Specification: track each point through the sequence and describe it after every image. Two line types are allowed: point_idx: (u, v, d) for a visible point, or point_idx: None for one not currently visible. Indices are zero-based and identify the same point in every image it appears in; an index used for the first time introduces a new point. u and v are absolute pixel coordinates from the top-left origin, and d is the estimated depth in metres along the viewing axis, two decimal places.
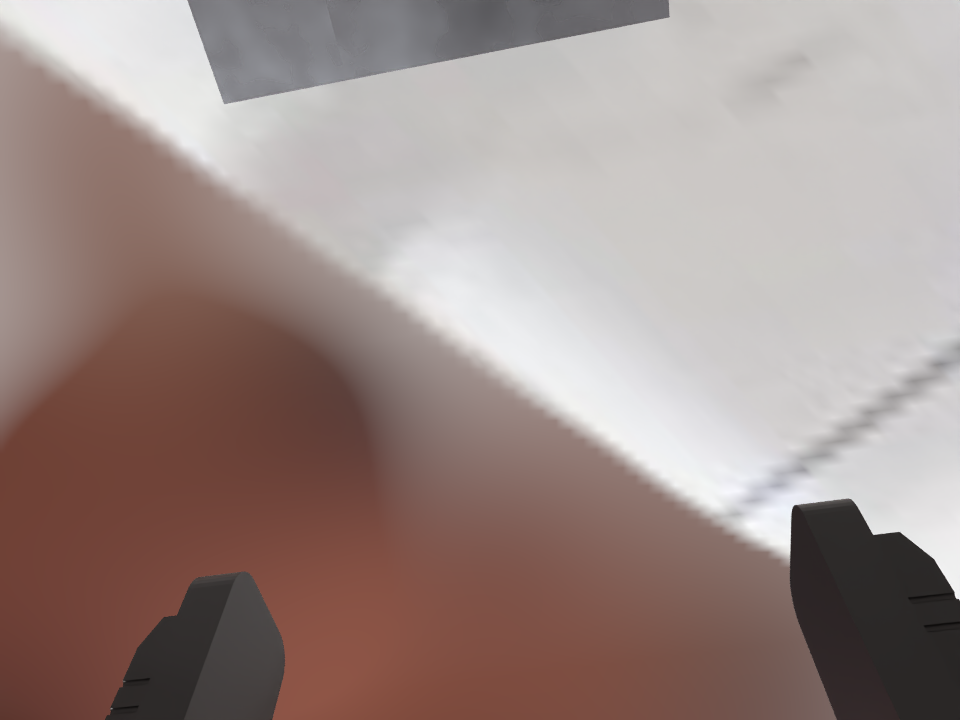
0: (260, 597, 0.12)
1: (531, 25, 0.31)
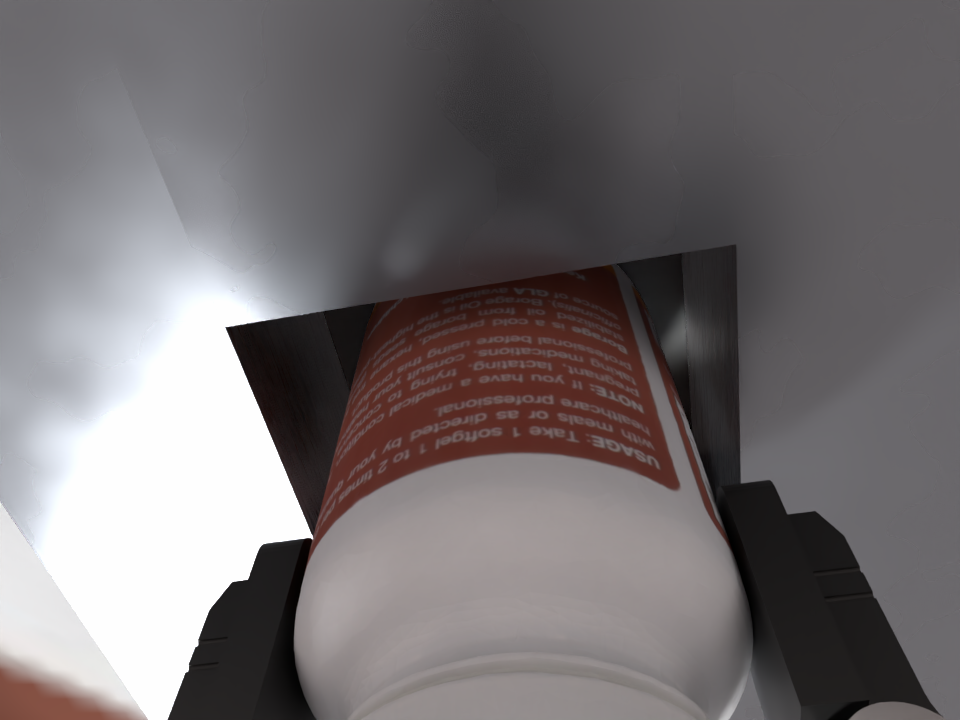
0: None
1: None
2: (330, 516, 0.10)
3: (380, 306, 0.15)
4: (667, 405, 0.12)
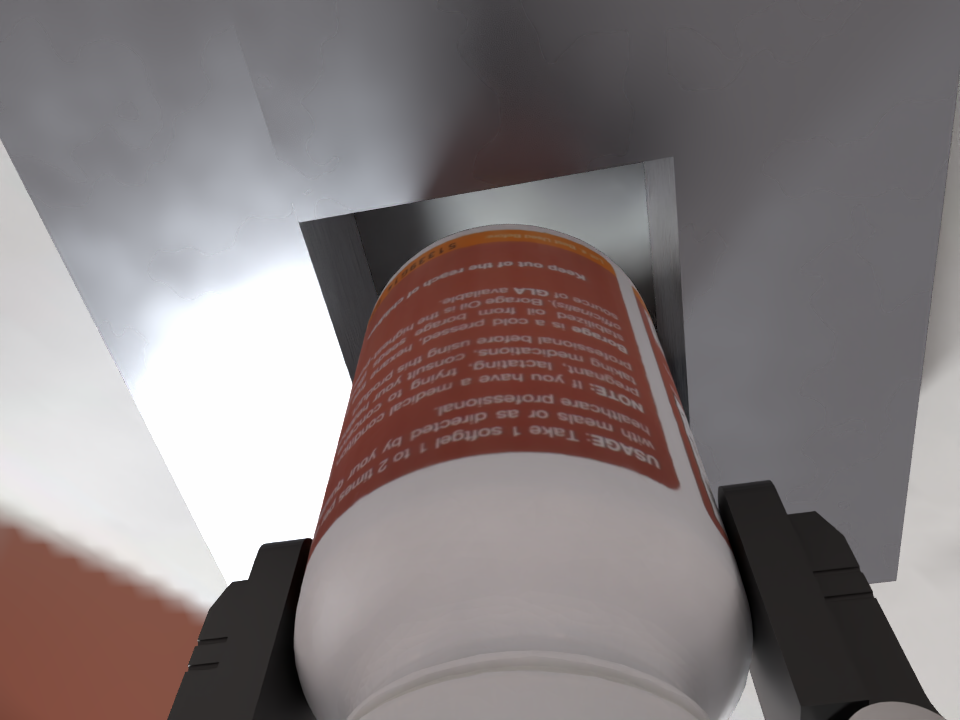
0: None
1: None
2: (330, 515, 0.10)
3: (380, 306, 0.15)
4: (667, 404, 0.12)
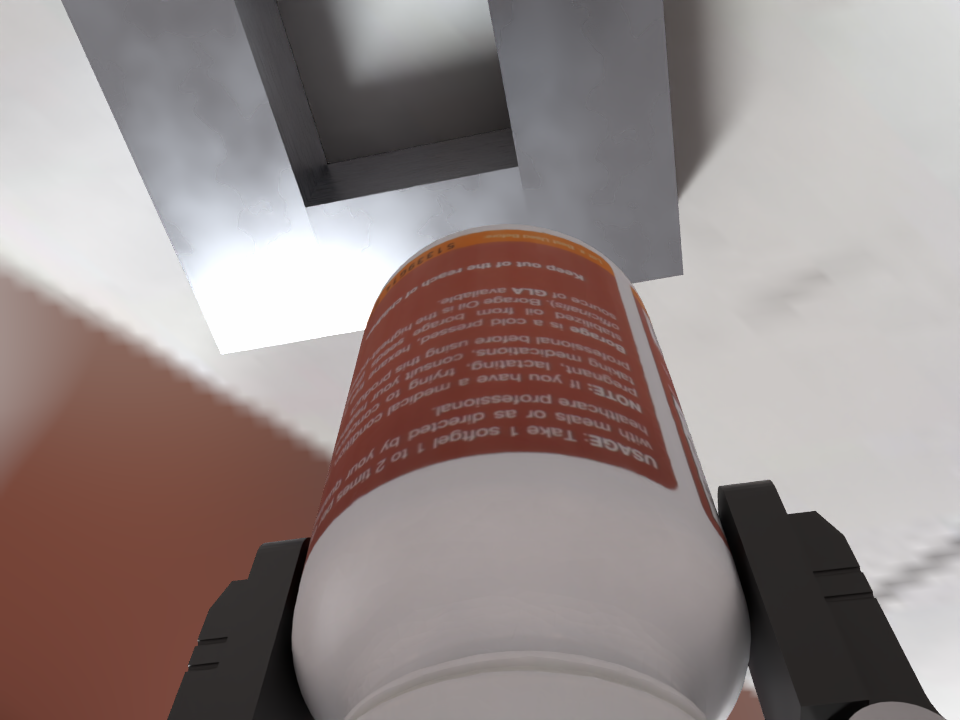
0: None
1: None
2: (328, 515, 0.10)
3: (379, 306, 0.15)
4: (665, 404, 0.12)
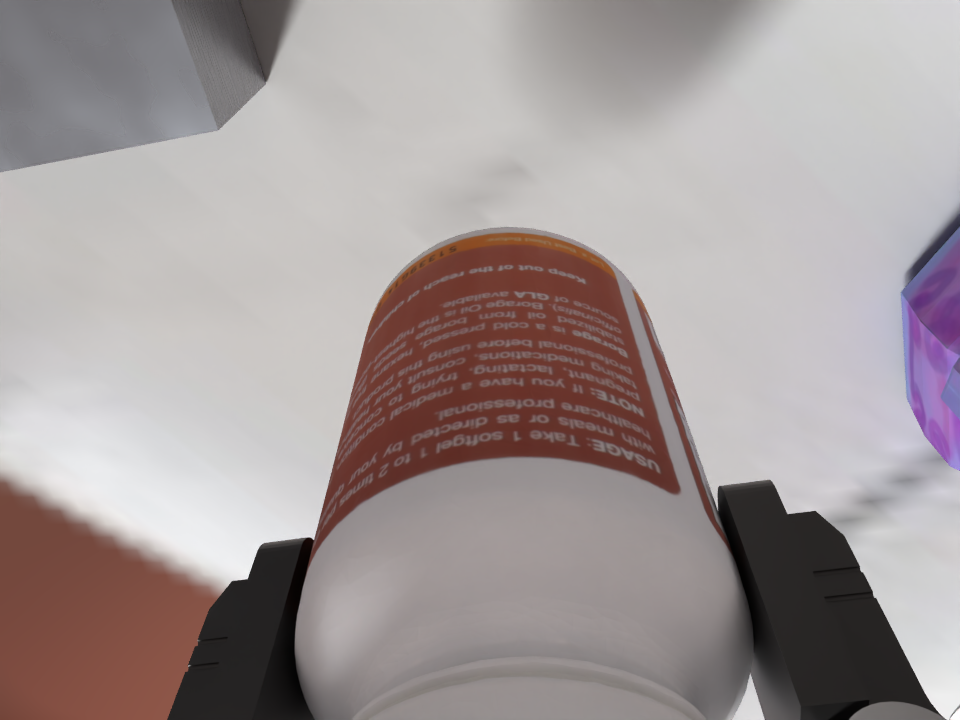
0: None
1: None
2: (331, 520, 0.10)
3: (381, 309, 0.15)
4: (668, 409, 0.12)
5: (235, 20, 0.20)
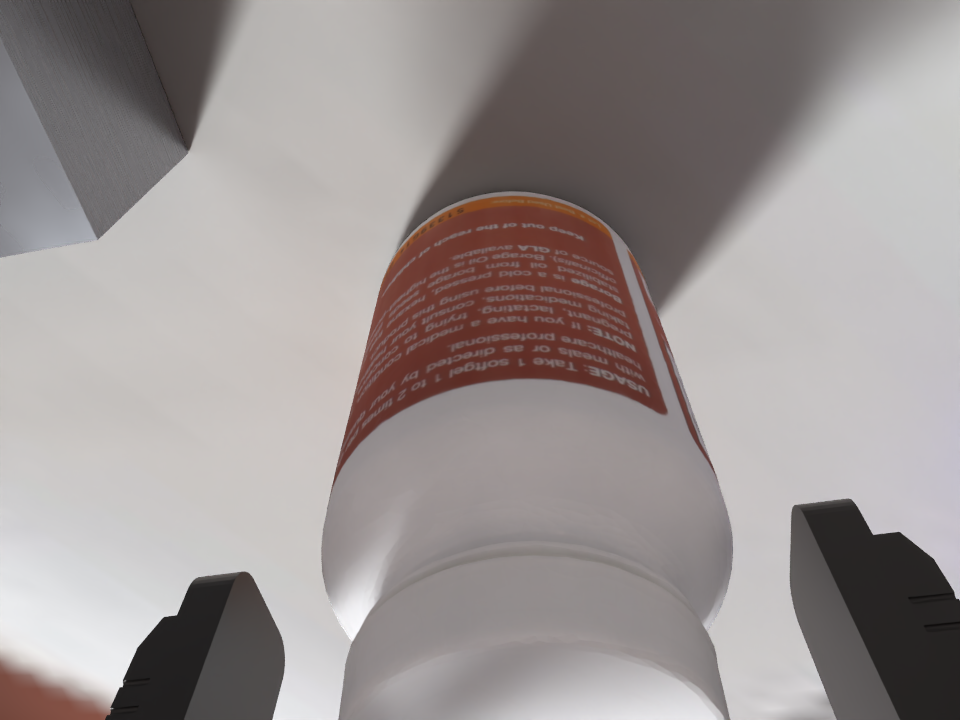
0: (260, 597, 0.12)
1: None
2: (354, 440, 0.12)
3: (393, 267, 0.16)
4: (658, 349, 0.13)
5: (137, 74, 0.15)
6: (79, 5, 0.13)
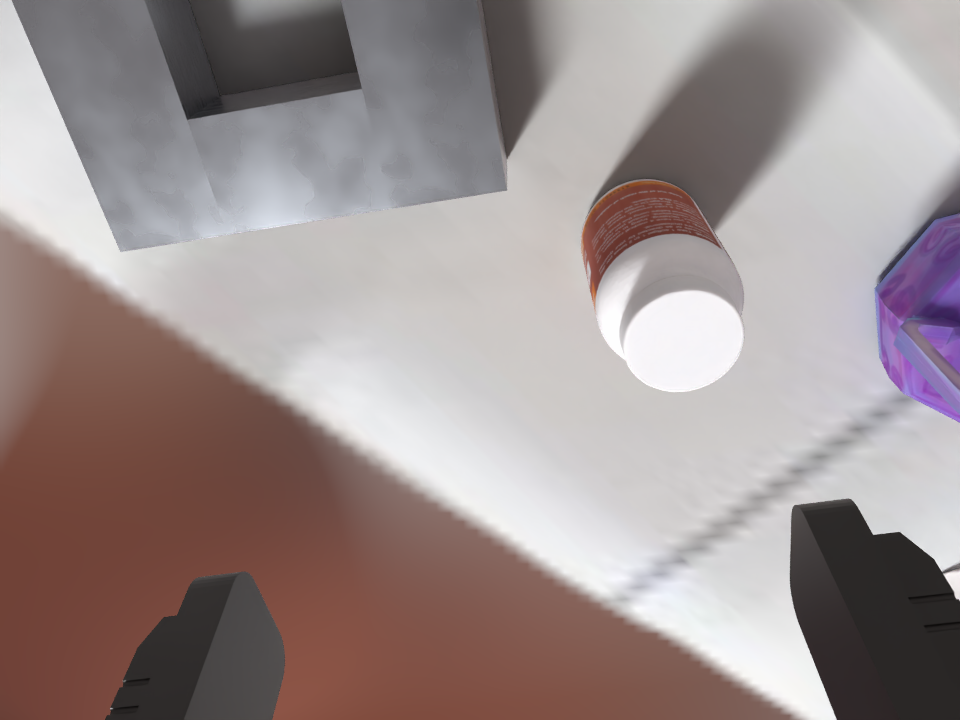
0: (260, 597, 0.12)
1: (386, 194, 0.35)
2: (612, 258, 0.33)
3: (597, 210, 0.38)
4: (715, 235, 0.35)
5: (500, 127, 0.37)
6: (495, 102, 0.35)
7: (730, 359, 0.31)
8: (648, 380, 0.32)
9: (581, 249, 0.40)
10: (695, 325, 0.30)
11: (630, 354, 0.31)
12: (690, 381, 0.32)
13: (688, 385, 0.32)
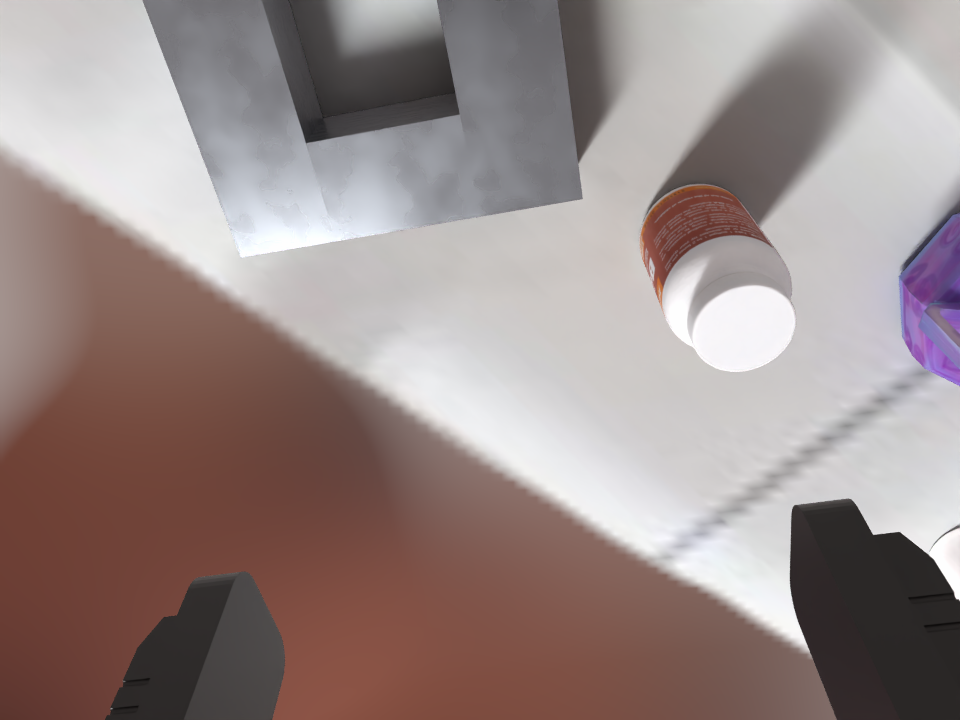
0: (260, 597, 0.12)
1: (477, 204, 0.40)
2: (677, 257, 0.38)
3: (656, 212, 0.43)
4: (764, 234, 0.40)
5: None
6: None
7: (784, 343, 0.36)
8: (712, 362, 0.37)
9: (640, 246, 0.45)
10: (755, 314, 0.35)
11: (698, 340, 0.36)
12: (748, 362, 0.37)
13: (746, 366, 0.37)
